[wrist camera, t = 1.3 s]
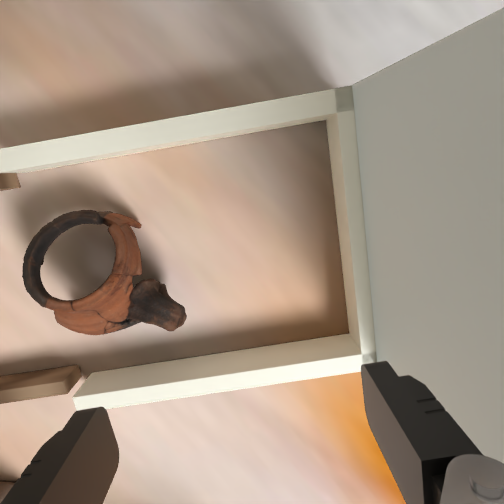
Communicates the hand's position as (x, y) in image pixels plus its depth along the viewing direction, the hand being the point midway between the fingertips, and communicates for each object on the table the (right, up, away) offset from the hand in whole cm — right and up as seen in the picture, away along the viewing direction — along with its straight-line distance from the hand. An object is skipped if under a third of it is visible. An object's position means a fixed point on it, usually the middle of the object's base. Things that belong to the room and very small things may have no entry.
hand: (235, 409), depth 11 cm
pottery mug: (-10, +3, +19) cm, 21 cm away
